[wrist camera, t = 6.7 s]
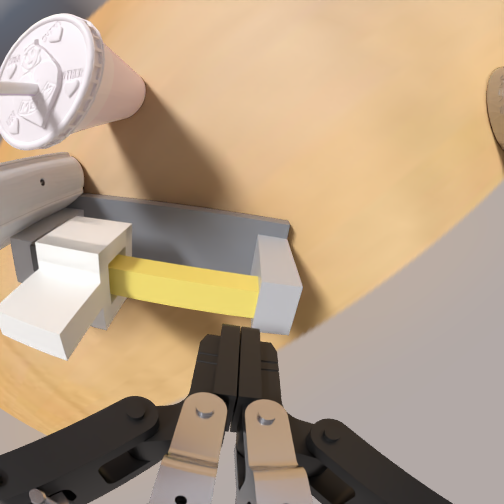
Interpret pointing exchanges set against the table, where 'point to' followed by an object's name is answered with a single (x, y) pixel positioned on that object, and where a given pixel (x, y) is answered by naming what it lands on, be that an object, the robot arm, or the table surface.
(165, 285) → the slider rail
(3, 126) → the smoothie
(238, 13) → the table surface
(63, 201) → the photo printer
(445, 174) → the table surface
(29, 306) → the white stepped block
